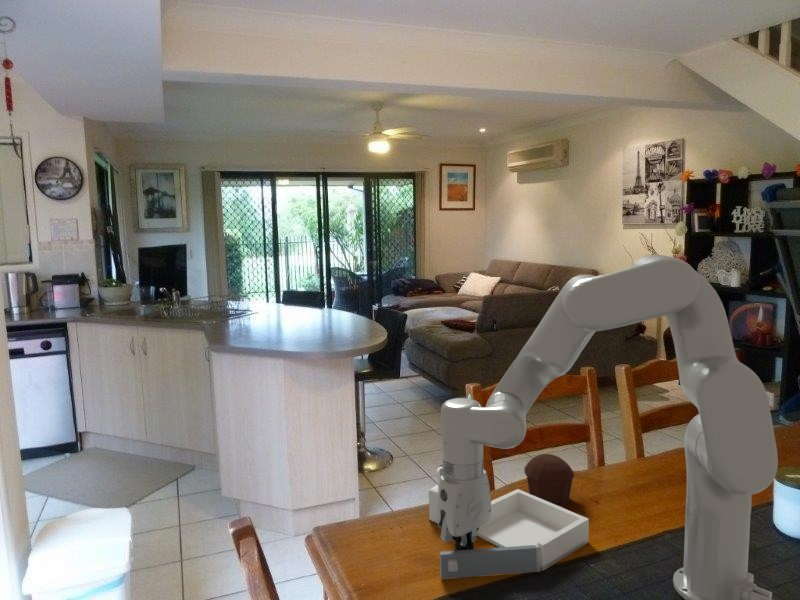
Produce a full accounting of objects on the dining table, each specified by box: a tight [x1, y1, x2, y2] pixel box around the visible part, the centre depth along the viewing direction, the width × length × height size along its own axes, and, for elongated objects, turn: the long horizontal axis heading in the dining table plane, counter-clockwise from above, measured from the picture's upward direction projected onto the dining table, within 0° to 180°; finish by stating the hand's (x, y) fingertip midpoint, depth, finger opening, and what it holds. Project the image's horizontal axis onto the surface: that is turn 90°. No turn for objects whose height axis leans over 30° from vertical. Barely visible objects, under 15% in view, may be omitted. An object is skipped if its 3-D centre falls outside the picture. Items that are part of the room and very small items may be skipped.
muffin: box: [523, 453, 575, 507], centre depth 133 cm, size 12×11×10 cm
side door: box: [439, 545, 542, 580], centre depth 103 cm, size 19×2×5 cm, turn 95°
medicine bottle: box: [428, 464, 442, 524], centre depth 124 cm, size 7×7×12 cm
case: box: [476, 488, 590, 572], centre depth 116 cm, size 18×15×5 cm
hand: (464, 561), depth 105 cm, fingers closed
